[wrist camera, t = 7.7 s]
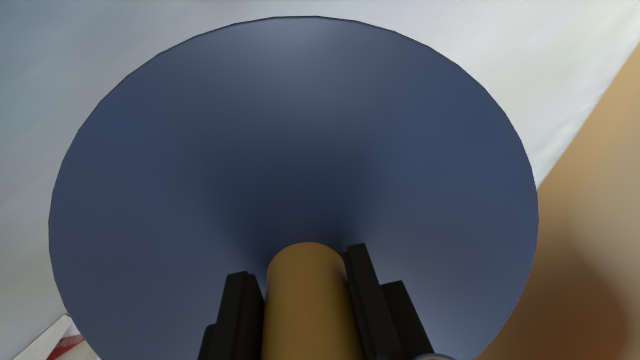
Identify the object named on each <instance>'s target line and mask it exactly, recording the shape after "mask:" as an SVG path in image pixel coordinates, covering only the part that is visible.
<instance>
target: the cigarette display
mask: <svg viewBox="0 0 640 360" xmlns="http://www.w3.org/2000/svg"><path fill="white" fill-rule="evenodd" d="M97 357H98V355H97V354H96V353H95V352H94V351H93V350H92V348H91V347H90V346H89V344H88V343H87V342H86V340H85V339H84V338H83V336H82V335H81V334H80V332H79V331H78V330H77V328H76V326H75V324H74V322H73V321H72V319H71V317H68V316H66V315H65V314H64V315H63V316H62V317H61V318H60V319H59V320H58V321H56V322H55V323H54V324H53V325H52V326H51V327H50V328H48V329H47V330H46V331H45V332H44V333H43V334H42V335H40V336H39V337H38V338H37V339H36V340H35V341H34V342H32V343H31V344H30V345H29V346H28V347H27V348H26V349H24V350H23V351H22V352H21V353H20V354H19V355H18V356H16V357H15V358H14V359H13V360H96V359H97Z"/></svg>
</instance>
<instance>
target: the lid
mask: <svg viewBox="0 0 640 360" xmlns="http://www.w3.org/2000/svg"><path fill="white" fill-rule="evenodd" d="M538 222H539V218H538V202H537V191H536V186H535V182H534V177H533V173H532V168H531V165H530V162H529V160H528V157H527V154H526V152H525V149H524V147H523V144H522V142H521V139H520V137H519V136H518V134H517V132H516V131H515V129H514V127H513V125H512V124H511V122H510V120H509V119H508V117H507V115H506V114H505V112H504V111H503V110H502V108H501V107H500V106H499V105H498V104H497V102H496V101H495V100H494V99H493V98H492V96H491V95H490V94H489V93H488V92H487V90H486V89H485V88H484V87H483V86H482V85H481V84H479V83H478V82H477V81H476V80H475V79H474V78H473V77H471V76H470V75H469V74H468V73H467V72H466V71H465V70H464V69H462V68H461V67H460V66H459V65H457V64H456V63H454V62H453V61H451V60H450V59H448V58H446V57H445V56H443V55H442V54H440V53H439V52H437V51H435V50H434V49H432V48H431V47H429V46H427V45H425V44H422V43H420V42H418V41H416V40H413V39H411V38H409V37H407V36H404V35H402V34H400V33H397V32H395V31H392V30H388V29H385V28H381V27H377V26H374V25H370V24H366V23H363V22H359V21H355V20H346V19H338V18H330V17H322V16H284V17H270V18H264V19H258V20H252V21H246V22H240V23H234V24H231V25H228V26H225V27H221V28H218V29H215V30H212V31H209V32H206V33H203V34H200V35H196V36H194V37H192V38H190V39H188V40H186V41H184V42H182V43H180V44H178V45H175V46H173V47H171V48H169V49H167V50H165V51H163V52H161V53H159V54H158V55H156V56H155V57H153V58H152V59H150V60H149V61H148V62H146V63H145V64H143V65H142V66H140V67H139V68H137V69H136V70H135V71H133V72H132V73H130V74H129V75H127V76H126V77H125V78H124V79H123V80H122V81H121V82H120V83H119V84H118V85H117V86H116V87H115V88H114V89H113V90H112V91H110V92H109V93H108V94H107V95H106V96H105V97H104V98H103V99H102V100H101V101H100V102H99V103H98V105H97V106H96V107H95V109H94V110H93V111H92V113H91V114H90V115H89V117H88V118H87V119H86V121H85V122H84V123H83V125H82V126H81V127H80V129H79V130H78V132H77V134H76V136H75V138H74V139H73V141H72V143H71V145H70V147H69V149H68V151H67V153H66V155H65V157H64V159H63V161H62V164H61V167H60V170H59V173H58V176H57V179H56V182H55V186H54V189H53V193H52V200H51V207H50V214H49V221H48V225H49V253H50V258H51V263H52V268H53V274H54V279H55V282H56V284H57V287H58V290H59V293H60V295H61V298H62V301H63V304H64V306H65V308H66V310H67V311H68V313H69V315H70V317H71V319H72V321H73V322H74V324H75V326H76V328H77V330H78V331H79V332H80V334H81V335H82V336H83V338H84V339H85V340H86V342H87V343H88V344H89V346H90V347H91V348H92V350H93V351H94V352H95V353H96V354H97V355H98V356H99V357H100V358H101V359H102V360H197V358H198V354H199V351H200V347H201V343H202V339H203V335H204V332H205V329H206V327H207V326H208V325H210V324H215V323H216V320H217V316H218V312H219V307H220V303H221V299H222V294H223V290H224V286H225V281H226V277H227V275H228V274H232V273H236V272H240V271H245V270H246V271H247V272H248V274H255V276H256V279H257V282H258V284H259V287H260V290H261V293H262V296H263V298H264V301H265V303H264V316H263V329H262V342H261V355H260V360H367V358H366V354H365V350H364V346H363V342H362V338H361V333H360V329H359V325H358V321H357V317H356V312H355V308H354V304H353V300H352V296H351V292H350V287H349V283H348V279H347V275H346V270H345V266H344V262H343V258H342V252H346V251H348V249H347V246H351V245H355V244H359V243H364V242H365V245H366V247H367V250H368V253H369V256H370V259H371V261H372V264H373V267H374V270H375V273H376V275H377V278H378V281H379V284H380V285H381V284H385V283H389V282H394V281H398V280H402V281H403V283H404V285H405V287H406V290H407V292H408V294H409V296H410V298H411V301H412V303H413V305H414V307H415V310H416V312H417V314H418V316H419V318H420V321H421V323H422V325H423V327H424V330H425V332H426V334H427V336H428V338H429V341H430V343H431V345H432V347H433V350H434V352H435V353H439V354H444V355H448V356H450V357H452V358H454V359H456V360H474V359H475V358H476V357H478V356H479V355H480V353H481V352H482V351H483V350H484V349H485V348H486V347H487V345H488V344H489V343H490V342H491V341H492V340H493V339H494V338H495V336H496V335H497V334H498V332H499V331H500V329H501V328H502V327H503V325H504V324H505V322H506V321H507V319H508V318H509V317H510V314H511V313H512V311H513V309H514V307H515V305H516V304H517V302H518V300H519V298H520V296H521V294H522V292H523V289H524V286H525V284H526V281H527V279H528V276H529V274H530V270H531V266H532V262H533V258H534V254H535V250H536V244H537V243H536V242H537V232H538Z"/></svg>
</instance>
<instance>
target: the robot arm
mask: <svg viewBox="0 0 640 360" xmlns="http://www.w3.org/2000/svg"><path fill="white" fill-rule="evenodd" d="M347 249H348V251H346V252H342V258H343V262H344V266H345V270H346V275H347V279H348V283H349V287H350V292H351V296H352V300H353V304H354V308H355V312H356V317H357V321H358V325H359V329H360V333H361V338H362V342H363V346H364V350H365V354H366V358H367V360H456V359H454V358H452V357H450V356H448V355H444V354H439V353H435V352H434V350H433V347H432V345H431V343H430V341H429V338H428V336H427V334H426V332H425V330H424V327H423V325H422V323H421V321H420V318H419V316H418V314H417V312H416V310H415V307H414V305H413V303H412V301H411V298H410V296H409V294H408V292H407V290H406V287H405V285H404V283H403V281H402V280H398V281H394V282H389V283H385V284H381V285H380V284H379V281H378V278H377V275H376V273H375V270H374V267H373V264H372V261H371V259H370V256H369V253H368V250H367V247H366V245H365V242H364V243H359V244H355V245H351V246H347ZM264 303H265V301H264V298H263V296H262V293H261V290H260V287H259V284H258V282H257V279H256V276H255V274H248V272H247V271H246V270H245V271H240V272H236V273H232V274H228V275H227V277H226V281H225V286H224V290H223V294H222V299H221V303H220V307H219V312H218V316H217V320H216V323H215V324H210V325H208V326H207V327H206V329H205V332H204V335H203V339H202V343H201V347H200V351H199V354H198V358H197V360H260V355H261V342H262V329H263V316H264Z"/></svg>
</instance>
